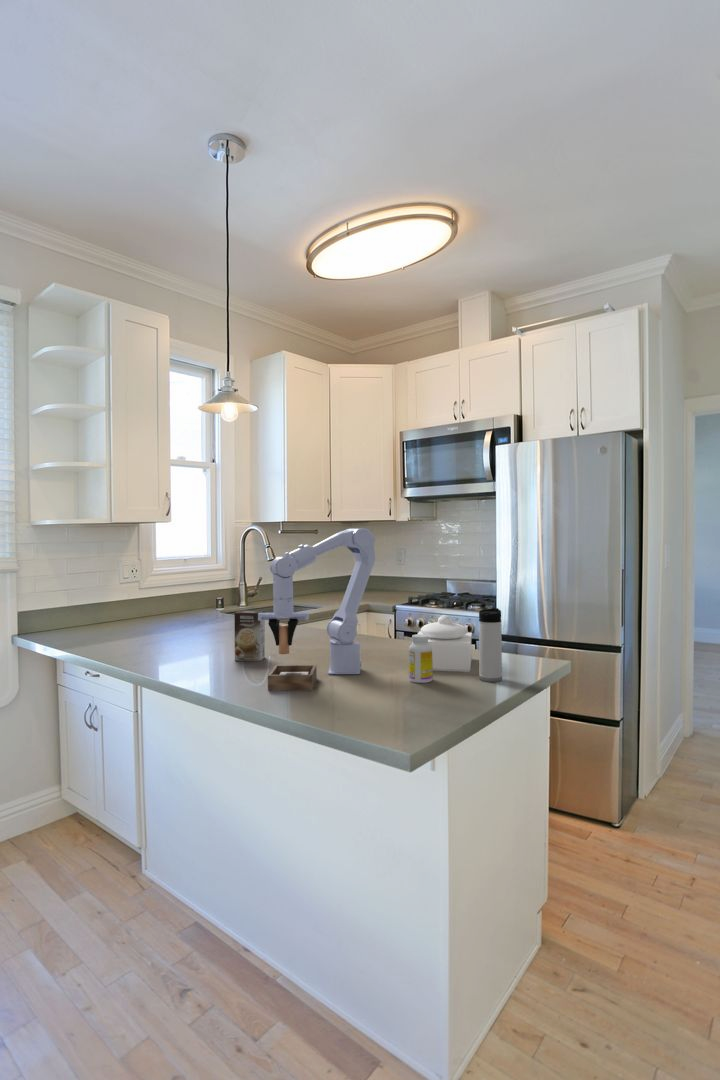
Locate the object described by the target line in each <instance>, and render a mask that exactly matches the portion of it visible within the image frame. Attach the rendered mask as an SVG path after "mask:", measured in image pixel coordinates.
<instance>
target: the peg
mask: <svg viewBox="0 0 720 1080" xmlns="http://www.w3.org/2000/svg"><path fill="white" fill-rule="evenodd" d="M278 630H279V645H278V655H288V654H290V646H288V638H289V632H288V624H279V626H278Z"/></svg>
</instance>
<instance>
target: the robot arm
mask: <svg viewBox="0 0 720 1080" xmlns="http://www.w3.org/2000/svg"><path fill="white" fill-rule="evenodd" d="M375 542H376V539H375V537H374V534H372V531H371V530H369V529H368V528H366V527H360V528H354V527H350V528H347V529H345V530H341V531H339V532H337V533H334V534H333V535H331V536H329V537H327V538H326V539H324V540H322V541H320V542H318V543H315V544H314V545H310V544H300V545H298V546H297V547H298V548H297V549H294V550H293V551H290V552H288V551H287V552H284V556H276V557H275V558H274V559H273V560H272V561H271V564H270V566H269V569H270V570H269V571H270V572H271V573H272V575H273V576H272V578H273V579H272V580H273V581H272V598H273V599H272V601H273V602H272V603H273V604H272V606H273V609H272V610H273V612H265V613H259V614H258V621H261V620H265V621H268V623H267V624H268V626H269V628H270V630H271V632H272V635H273V637H274V642H275V646H277V647H279V630H278V626H279V625H280V621H287V625H288V632H289V638H288V646H289V647H290V646H291V647H292V645H293V638H294V634H295V631H296V628H297V626H298V623H299V621H301V620H302V621H309V620H310V613H309V612H298V611H297V612H296V611H294V583H293V582H294V581H293V579H294V578H293V576H294V574H295V573H296V572H297V571H299V570H302V569H303V568H305V567H307V566H309V565H311V564H313V563H315V562H316V560H317V557H318V556H320V555H323V554H324V553H327V552H329V551H333V550H334V549H337V548H339V547H346V548H347V549H348V550H349V551H350V552H352V555H353V557H354V558H355V560H356V561H355V565H354V567H353V570H352V573H351V575H350V579H349V581H348V584H347V587H346V589H345V593H344V595H343V598H342V601H341V604H340V606H339V609H337V611H335V612H334V615H333V617H332V619H330V620H329V622H328V623H327V625H326V633H327V635H328V636H329V637H330V639H329V663H330V665H329V669H328V672H327V673H328V675H360V674H361V668H362V660H361V642H358V641H357V642H356V641H355V639H356V638H357V634H358V631H357V630H358V629H357V627H358V623H359V620H358V616H357V614H358V610H359V607H360V604H361V602H362V598H363V595H364V593H365V590H366V587H367V584H368V581H369V578H370V576H371V572H372V570H373V567H374V564H375V561H376V556H375Z"/></svg>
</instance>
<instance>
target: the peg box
mask: <svg viewBox="0 0 720 1080" xmlns="http://www.w3.org/2000/svg"><path fill="white" fill-rule="evenodd" d="M317 675H318V674H317V664H275V665H274V666H273V667H272V669H271V670H270V672H269V673H268V674H267V691H313V689H314V686H315V683H316V681H317V679H318V678H317Z"/></svg>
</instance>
